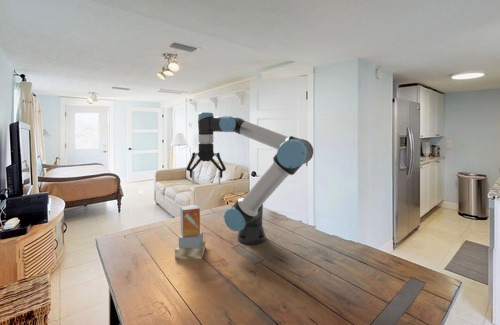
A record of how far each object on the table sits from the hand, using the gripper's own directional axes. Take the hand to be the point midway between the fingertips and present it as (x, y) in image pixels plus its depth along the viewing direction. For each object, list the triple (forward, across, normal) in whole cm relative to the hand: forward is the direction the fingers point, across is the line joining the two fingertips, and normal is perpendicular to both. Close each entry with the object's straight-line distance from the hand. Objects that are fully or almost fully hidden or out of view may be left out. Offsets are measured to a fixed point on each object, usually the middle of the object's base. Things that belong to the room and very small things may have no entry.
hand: (206, 184), depth 134 cm
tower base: (+31, +6, +14) cm, 35 cm away
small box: (+21, +6, +14) cm, 26 cm away
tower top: (+26, +5, +14) cm, 30 cm away
